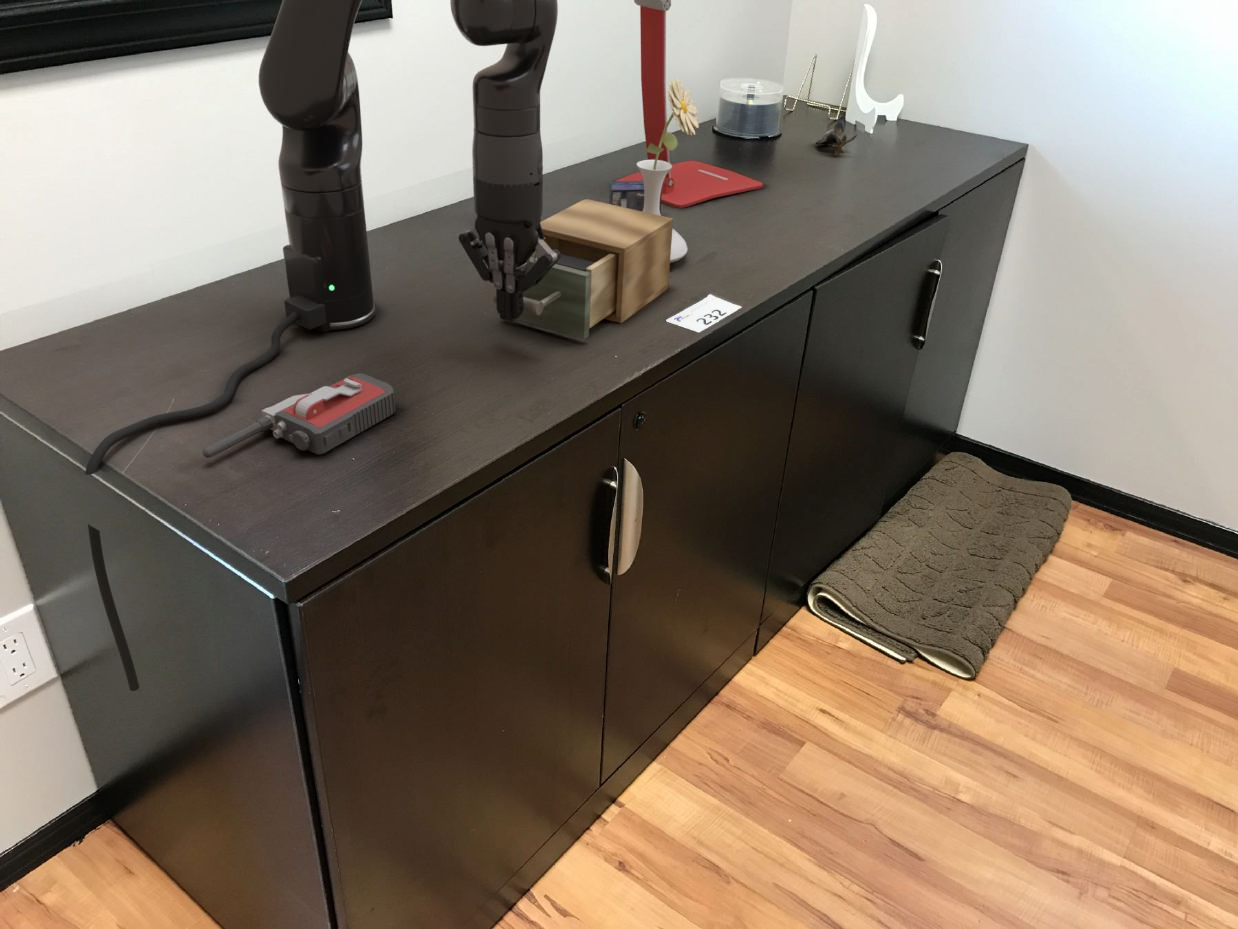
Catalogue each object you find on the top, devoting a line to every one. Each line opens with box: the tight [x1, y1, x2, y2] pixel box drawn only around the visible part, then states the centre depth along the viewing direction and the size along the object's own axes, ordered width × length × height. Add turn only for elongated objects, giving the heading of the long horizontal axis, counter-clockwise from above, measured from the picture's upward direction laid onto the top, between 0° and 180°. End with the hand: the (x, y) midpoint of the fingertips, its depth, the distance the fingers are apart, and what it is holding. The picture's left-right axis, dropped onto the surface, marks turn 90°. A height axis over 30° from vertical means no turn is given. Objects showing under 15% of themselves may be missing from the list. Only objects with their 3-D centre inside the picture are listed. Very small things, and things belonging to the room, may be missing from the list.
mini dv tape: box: [608, 180, 662, 213], centre depth 161 cm, size 8×2×6 cm, turn 101°
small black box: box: [556, 254, 596, 272], centre depth 127 cm, size 3×7×6 cm, turn 62°
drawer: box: [493, 235, 619, 340], centre depth 125 cm, size 18×12×8 cm
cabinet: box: [540, 198, 674, 324], centre depth 134 cm, size 14×14×10 cm
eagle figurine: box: [815, 114, 858, 158], centre depth 200 cm, size 8×7×9 cm
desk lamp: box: [616, 0, 764, 209], centre depth 170 cm, size 18×38×40 cm, turn 133°
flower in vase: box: [636, 78, 700, 264], centre depth 142 cm, size 13×11×25 cm
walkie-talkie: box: [202, 372, 396, 459], centre depth 102 cm, size 9×4×20 cm
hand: (510, 317), depth 118 cm, fingers closed
